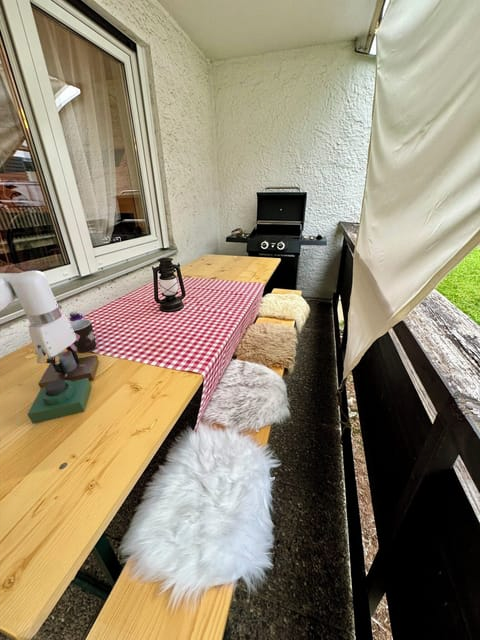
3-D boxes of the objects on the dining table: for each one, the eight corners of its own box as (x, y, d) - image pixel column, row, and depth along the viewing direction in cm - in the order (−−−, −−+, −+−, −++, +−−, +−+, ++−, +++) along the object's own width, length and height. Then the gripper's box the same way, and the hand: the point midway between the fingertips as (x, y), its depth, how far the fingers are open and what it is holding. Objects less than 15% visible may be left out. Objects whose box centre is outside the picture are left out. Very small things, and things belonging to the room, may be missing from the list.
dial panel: (42, 391, 77) (37, 383, 75) (53, 371, 85) (49, 363, 84) (93, 380, 80) (90, 372, 78) (99, 361, 88) (96, 354, 87)
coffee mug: (91, 339, 101) (82, 317, 97) (104, 345, 97) (96, 322, 93) (60, 355, 93) (49, 331, 88) (74, 362, 89) (63, 337, 84)
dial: (69, 373, 79) (62, 359, 76) (57, 371, 80) (51, 357, 77) (80, 364, 82) (74, 350, 80) (69, 363, 83) (63, 349, 81)
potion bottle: (67, 344, 99) (55, 316, 94) (85, 332, 106) (74, 306, 101) (84, 347, 97) (73, 319, 91) (101, 335, 104) (92, 308, 98)
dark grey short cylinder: (45, 398, 67) (42, 392, 66) (51, 386, 71) (48, 381, 70) (64, 393, 68) (61, 388, 67) (69, 383, 72) (66, 377, 71)
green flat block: (33, 424, 66) (23, 408, 63) (46, 396, 74) (38, 382, 72) (84, 411, 69) (77, 396, 66) (91, 386, 77) (85, 372, 75)
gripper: (59, 302, 80) (79, 350, 89) (4, 329, 66) (34, 384, 75) (79, 303, 78) (98, 352, 87) (27, 332, 64) (55, 387, 73)
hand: (68, 366), depth 81 cm, fingers closed on dial, 4 cm apart
